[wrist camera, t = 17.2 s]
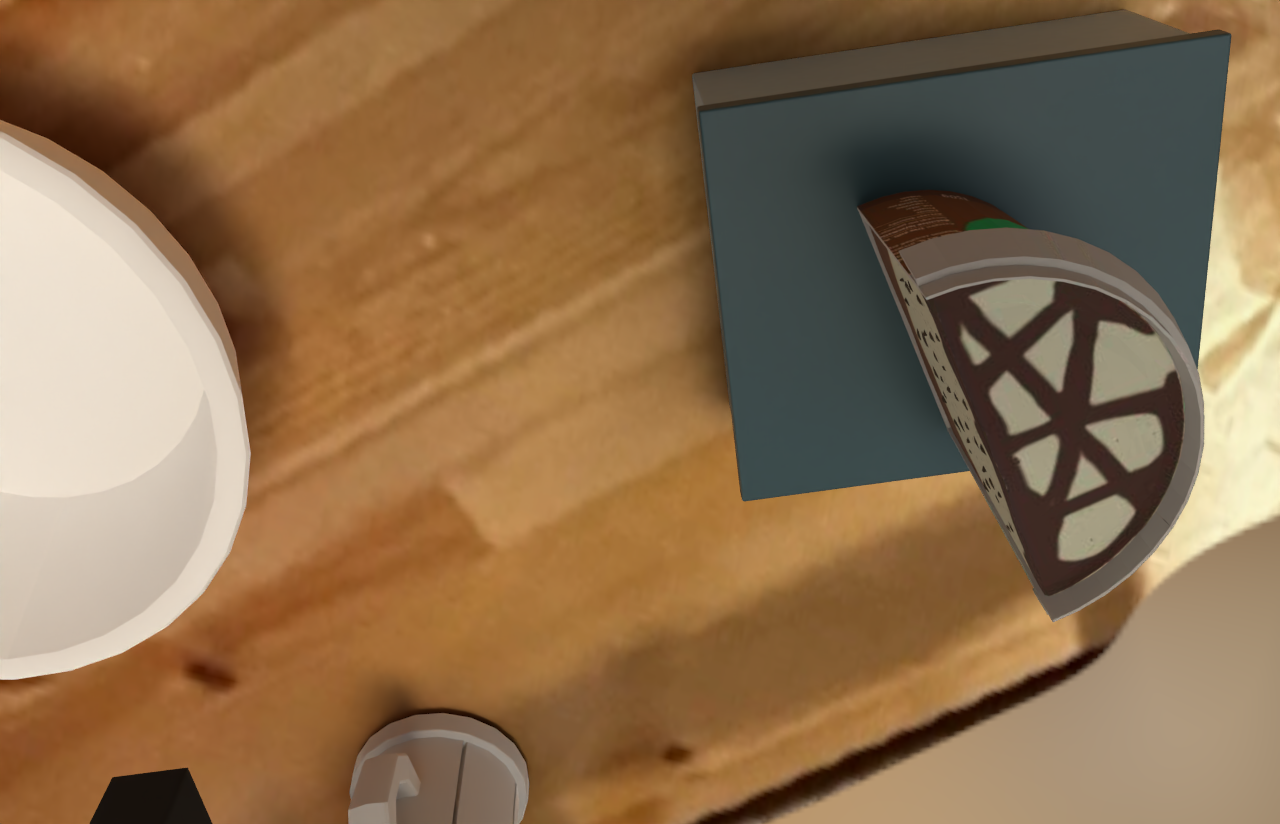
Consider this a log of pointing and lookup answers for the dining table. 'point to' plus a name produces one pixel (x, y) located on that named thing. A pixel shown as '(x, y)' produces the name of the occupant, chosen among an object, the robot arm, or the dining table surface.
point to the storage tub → (947, 161)
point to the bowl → (105, 417)
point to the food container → (1048, 385)
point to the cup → (438, 774)
